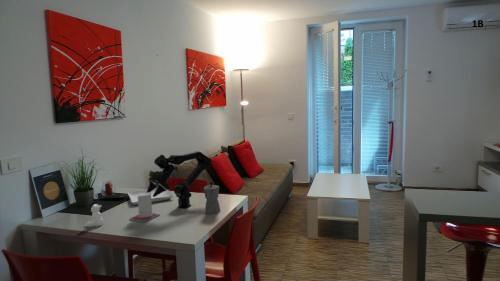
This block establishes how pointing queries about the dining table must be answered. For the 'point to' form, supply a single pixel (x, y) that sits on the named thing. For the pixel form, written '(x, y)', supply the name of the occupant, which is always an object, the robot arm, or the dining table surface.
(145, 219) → the ink pad tray
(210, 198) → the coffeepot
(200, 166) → the robot arm
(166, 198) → the square plate
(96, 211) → the sitting furry creature
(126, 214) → the dining table surface
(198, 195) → the dining table surface
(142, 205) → the supplement box
